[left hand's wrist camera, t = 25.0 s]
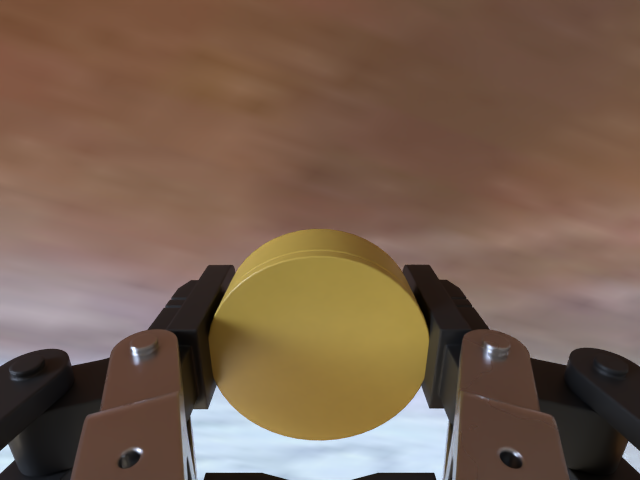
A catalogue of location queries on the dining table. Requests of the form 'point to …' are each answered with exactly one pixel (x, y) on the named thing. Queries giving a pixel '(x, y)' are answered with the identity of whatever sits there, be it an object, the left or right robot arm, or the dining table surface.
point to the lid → (319, 337)
